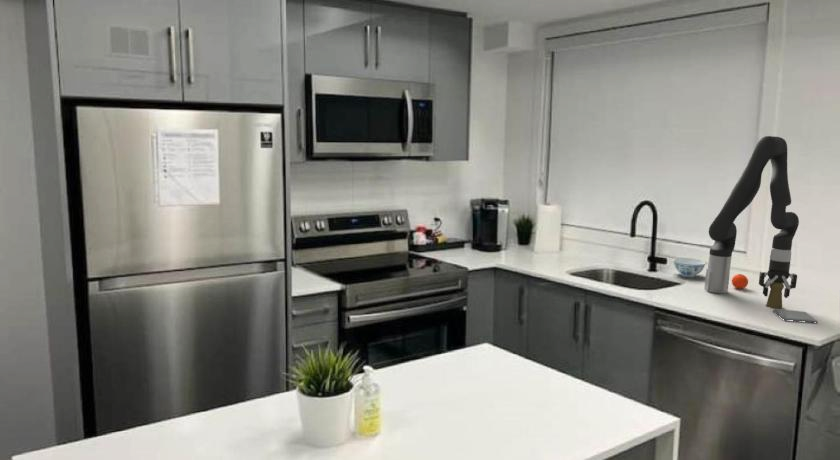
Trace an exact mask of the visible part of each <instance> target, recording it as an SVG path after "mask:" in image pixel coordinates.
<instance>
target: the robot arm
mask: <svg viewBox="0 0 840 460" xmlns="http://www.w3.org/2000/svg"><path fill="white" fill-rule="evenodd" d="M768 162H770V163H771V177H770V182H769V183H770V184H769V192H770V193H769V194H770V200H771V210H770V211H771V212H770V223H771V225H772V226H773V228H775V229H776V230H779V232H778V233H776V234H775V235H774V236H773V238H772V243H771V245H772V246H771V250H770V255H769V262H768V263H769V266H768V271H765V272H764V271H763V270H761V271H759V279H758V285H759V286H761V287H762V295H764V296H765V297H769V288H770V285H771V284H772V283H773V282H774V283H778V282H779V283H783V285H784V293H783V297H784V299H788V298H789V297H790V292H791V290H792V289H796V287H797V282H798V281H797V280H798V275H797V274H796V273H790V269H791V261H792V247H793V239H794V237H795V235H796V232H797V230H798V228H799V225H800V220H799V216H798V215H797V213H795V212H793V211H787V207H788V206H790V205H791V204H792V198H791V197H792V196H791V190H790V186H789V185H790V184H789V177H788V174H789V173H788V144H787V141H786V139H784V138H782V137H780V136H772V135H766V136H762V137H761V138H760V139H758V141H757V143H756V144H755V146H754V149H753V151H752V153H751V155H750V158H749V159H748V162H747V164H746V166H745V167H744V169H743V172H741V175H740V177H738V180H737V182H736V183H735V184H734V186H733V188H732V189H731V192H730V194H729V196H728V198H727V199H726V200H725V203H724V204H723V206H722V208H721V210H720V211H719V212H718V214H717V216H716V217H715V218H714V220H713V221H712V222H711V224H710V226H709V229H708V235H709V238H710V239H711V240H713V241H714V242H713V244H712V245H711V247H710V248H709V254H708V255H709V256H708V263H707V265H708V266H707V268H706V270H705V279H704V289H705V290H706V292H709V293H713V294H714V293H715V294H727V293H728V291H729V284H730V274H731V263H732V255H733V252H734V250H735V247H736V241H737V232H738V230H737V226H736V224H735V221H736V219H737V217H738V216H739V215H740V214H741V213H742V212H743V211H744V210H745V209H746V208H747V207H749V206H750V204H751V203H752V202H753V200H755V197H756V195H757V194H758V192H759V190H760V188H761V183H762V174H763V171H764V169H765V167H766V165H767V164H768ZM767 277H768V278H767ZM765 278H767V279H766V281H765ZM789 278H790V279H791V280H790V284H789V281H788V279H789Z"/></svg>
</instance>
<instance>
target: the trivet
mask: <svg viewBox="0 0 840 460" xmlns="http://www.w3.org/2000/svg"><path fill="white" fill-rule="evenodd" d="M772 313H774V314H775V313H776V314H777V315H778V316H780V317H781V318H782V319H784V320H793V321H805V322H816V323H817V324H818V319H815V318H814V317H813V316H812V315H810V314H809V313H807V312H806V311H797V310H785V309H784V310H782V309H772ZM776 314H775V315H776ZM777 315H776V316H777ZM778 316H777V317H778ZM780 317H779V318H780ZM781 318H780V319H781ZM782 319H781V320H782ZM816 323H815V324H816Z"/></svg>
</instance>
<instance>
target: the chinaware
mask: <svg viewBox="0 0 840 460" xmlns="http://www.w3.org/2000/svg"><path fill="white" fill-rule="evenodd" d="M672 260H673V264H674V268H675V269H676V271H677V272H678V273H680V276H681V277H685V278H695V277H696V275H699V274H700V273H701V272H702V271H703V270H704V268H705V266H706V264H707V263H706V261H704V260H701V259H697V258H691V257H675V258H673V259H672Z"/></svg>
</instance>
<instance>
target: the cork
mask: <svg viewBox="0 0 840 460" xmlns="http://www.w3.org/2000/svg"><path fill="white" fill-rule="evenodd" d="M769 288H770V291H769V292H768V296H767V301H766V305H765V307H767V308H769V307H770V308H769V309H773V308H775V309H774V310H782V309H783V290H784V289H785V285H784V284H783V283H779V282H778V283H774V282H773V283H772V284H771V285H770V286H769Z"/></svg>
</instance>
